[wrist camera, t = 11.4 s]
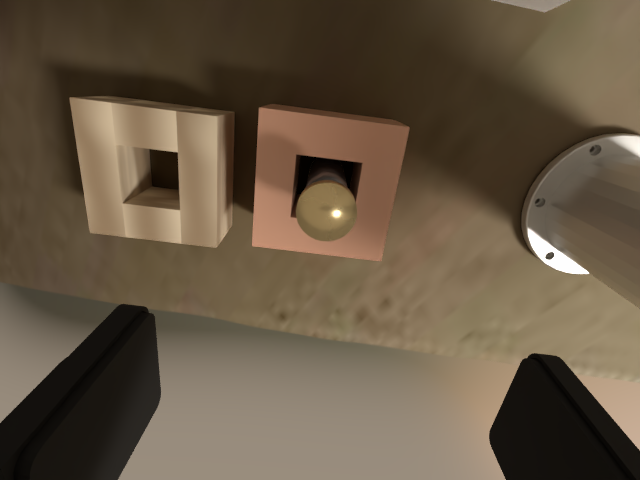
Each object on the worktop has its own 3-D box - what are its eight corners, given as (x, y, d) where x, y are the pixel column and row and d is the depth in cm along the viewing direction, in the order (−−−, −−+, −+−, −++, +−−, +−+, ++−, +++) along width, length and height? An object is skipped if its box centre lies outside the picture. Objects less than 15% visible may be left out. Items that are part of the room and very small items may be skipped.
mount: (234, 111, 29) (217, 116, 24) (232, 225, 33) (216, 247, 28) (111, 95, 28) (69, 97, 24) (123, 212, 32) (90, 232, 28)
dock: (394, 119, 29) (410, 127, 23) (371, 232, 33) (381, 261, 27) (272, 103, 28) (258, 107, 23) (264, 219, 32) (252, 246, 27)
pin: (350, 154, 30) (362, 187, 20) (343, 194, 31) (352, 244, 21) (308, 148, 30) (299, 179, 20) (303, 189, 31) (293, 237, 21)
